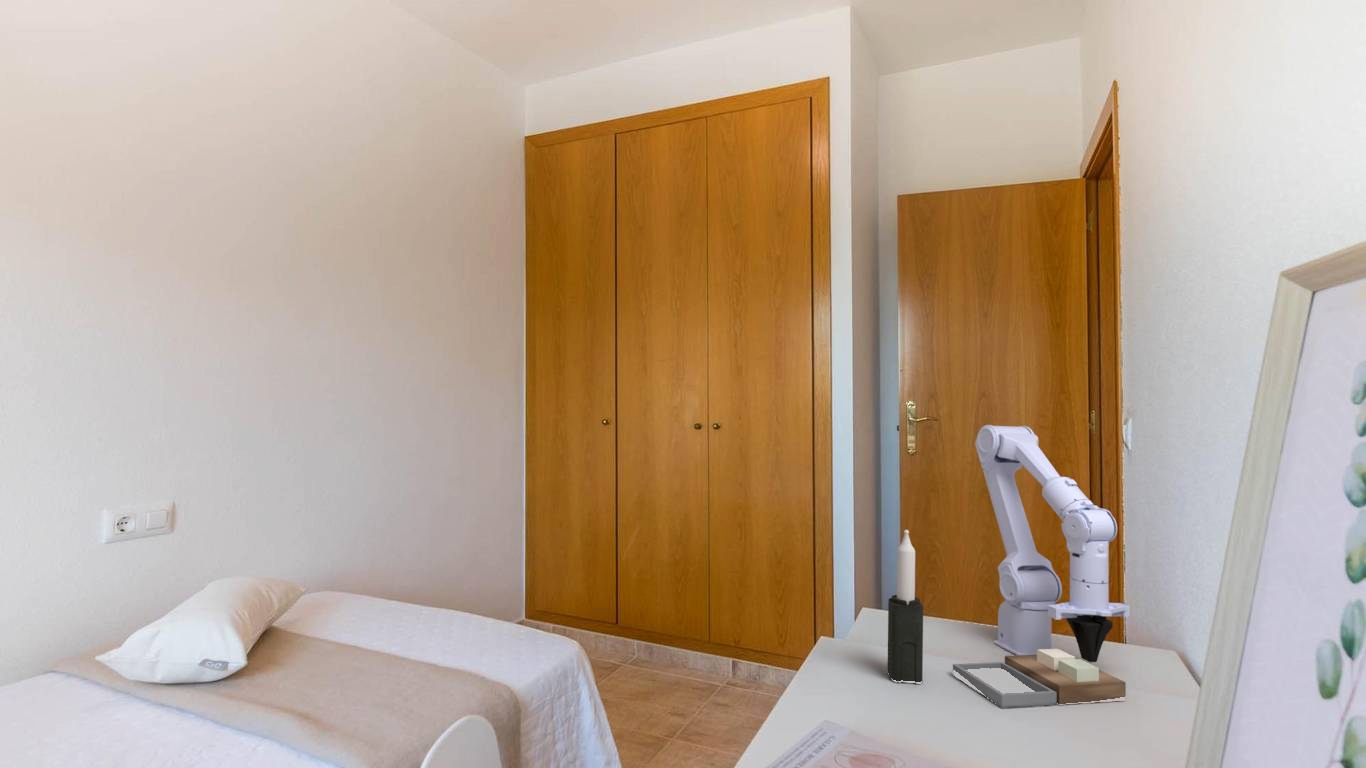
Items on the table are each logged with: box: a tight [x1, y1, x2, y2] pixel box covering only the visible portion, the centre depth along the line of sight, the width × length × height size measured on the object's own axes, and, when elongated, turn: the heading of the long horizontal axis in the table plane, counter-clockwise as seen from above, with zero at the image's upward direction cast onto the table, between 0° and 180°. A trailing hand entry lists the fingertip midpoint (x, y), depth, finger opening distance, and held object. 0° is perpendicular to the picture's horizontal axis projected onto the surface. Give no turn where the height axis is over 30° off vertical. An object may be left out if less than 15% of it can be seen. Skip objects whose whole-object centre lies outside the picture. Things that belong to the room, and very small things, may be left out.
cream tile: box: [1037, 648, 1076, 670], centre depth 114 cm, size 4×4×2 cm
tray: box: [952, 661, 1058, 709], centre depth 110 cm, size 13×10×2 cm
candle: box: [887, 529, 924, 682], centre depth 114 cm, size 5×5×25 cm
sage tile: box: [1058, 658, 1100, 682], centre depth 109 cm, size 4×4×2 cm
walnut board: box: [1004, 654, 1127, 705], centre depth 112 cm, size 13×12×3 cm
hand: (1088, 660), depth 115 cm, fingers closed
